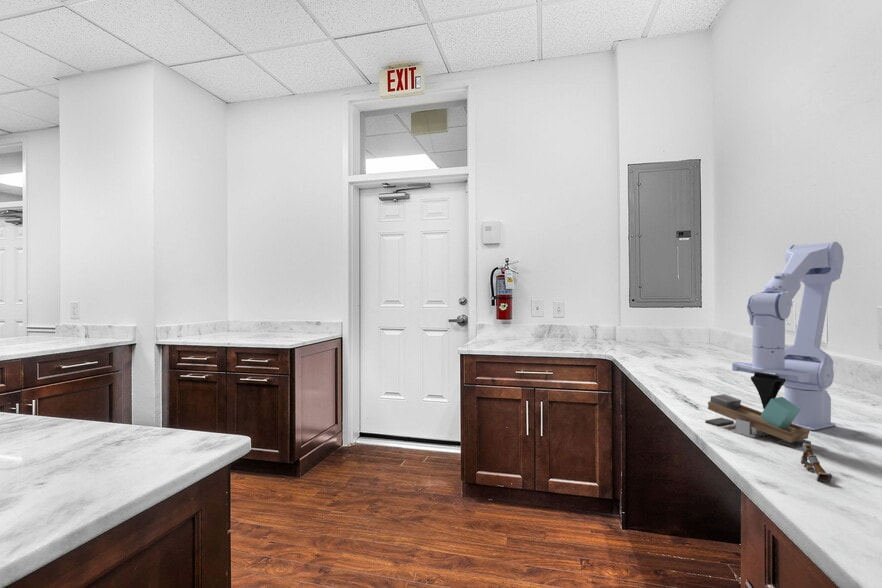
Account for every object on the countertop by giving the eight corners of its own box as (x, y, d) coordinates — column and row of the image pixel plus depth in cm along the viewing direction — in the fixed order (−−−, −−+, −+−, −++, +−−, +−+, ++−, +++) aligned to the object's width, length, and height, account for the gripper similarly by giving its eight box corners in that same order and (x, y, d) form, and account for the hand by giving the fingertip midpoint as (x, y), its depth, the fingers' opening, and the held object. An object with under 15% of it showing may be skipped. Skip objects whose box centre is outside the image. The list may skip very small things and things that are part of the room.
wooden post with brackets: (806, 459, 82) (811, 440, 80) (826, 494, 75) (832, 474, 73) (794, 458, 82) (799, 439, 81) (813, 492, 76) (819, 472, 74)
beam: (724, 409, 109) (726, 394, 109) (807, 441, 93) (810, 423, 92) (706, 411, 107) (709, 396, 106) (789, 445, 90) (792, 427, 90)
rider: (770, 414, 99) (782, 396, 96) (788, 427, 95) (800, 409, 93) (759, 416, 97) (771, 398, 95) (777, 429, 94) (789, 411, 92)
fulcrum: (724, 419, 110) (724, 406, 110) (813, 443, 93) (813, 428, 93) (702, 423, 107) (702, 409, 107) (790, 448, 90) (790, 433, 89)
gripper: (723, 344, 102) (723, 402, 102) (795, 352, 89) (794, 419, 89) (743, 342, 105) (743, 399, 105) (815, 350, 92) (814, 415, 92)
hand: (767, 408), depth 97 cm, fingers closed, pressing on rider
